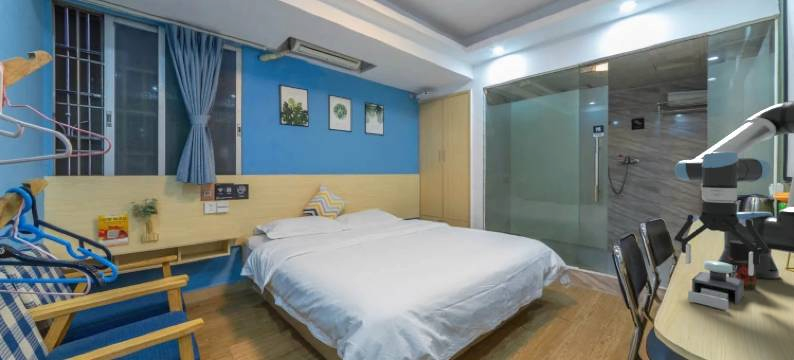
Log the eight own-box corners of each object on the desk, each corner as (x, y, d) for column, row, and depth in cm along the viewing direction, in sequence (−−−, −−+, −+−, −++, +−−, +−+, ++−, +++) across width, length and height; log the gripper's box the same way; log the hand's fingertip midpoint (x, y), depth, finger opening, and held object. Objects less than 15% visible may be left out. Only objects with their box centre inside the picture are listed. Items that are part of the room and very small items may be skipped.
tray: (697, 291, 95) (697, 282, 95) (734, 300, 89) (735, 290, 89) (688, 300, 89) (688, 291, 89) (727, 310, 82) (727, 300, 82)
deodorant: (725, 285, 101) (725, 241, 101) (733, 282, 103) (733, 239, 103) (750, 291, 96) (751, 245, 95) (759, 288, 98) (759, 243, 97)
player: (700, 285, 101) (700, 263, 101) (743, 295, 93) (744, 270, 93) (692, 293, 95) (692, 269, 95) (737, 304, 87) (738, 278, 87)
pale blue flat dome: (727, 268, 95) (727, 262, 95) (736, 274, 90) (736, 267, 90) (701, 265, 98) (701, 259, 98) (708, 271, 93) (708, 264, 93)
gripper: (663, 199, 101) (662, 261, 102) (782, 205, 81) (781, 283, 81) (669, 198, 106) (669, 257, 106) (785, 203, 85) (783, 277, 86)
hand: (717, 268), depth 94 cm, fingers open, 13 cm apart
